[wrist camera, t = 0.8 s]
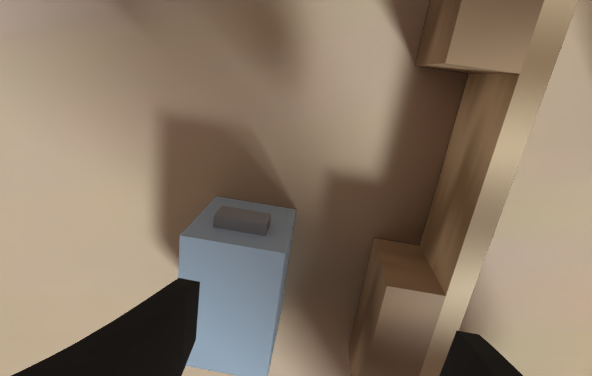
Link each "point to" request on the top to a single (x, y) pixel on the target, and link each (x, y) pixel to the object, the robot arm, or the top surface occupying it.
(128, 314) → the robot arm
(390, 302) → the beige wooden bar
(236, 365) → the cabinet block
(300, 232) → the top surface
